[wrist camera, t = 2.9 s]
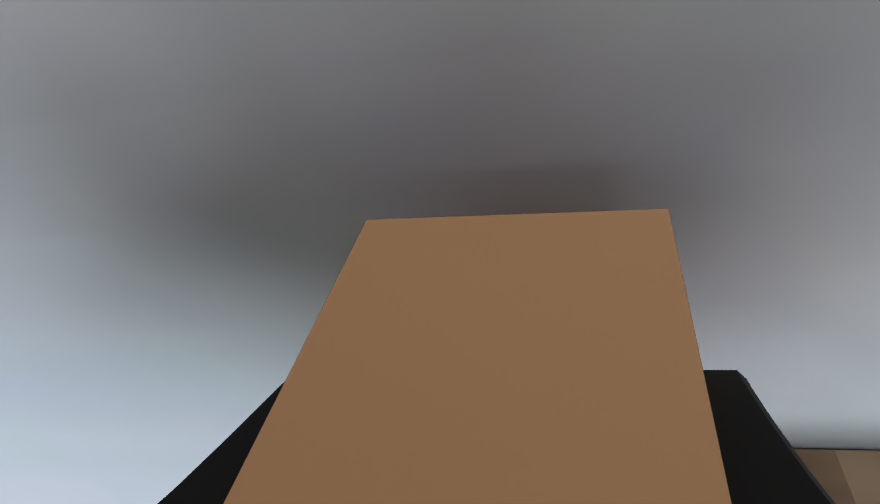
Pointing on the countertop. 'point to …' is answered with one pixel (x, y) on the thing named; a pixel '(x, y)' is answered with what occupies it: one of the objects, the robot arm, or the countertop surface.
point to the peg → (497, 371)
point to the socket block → (845, 474)
